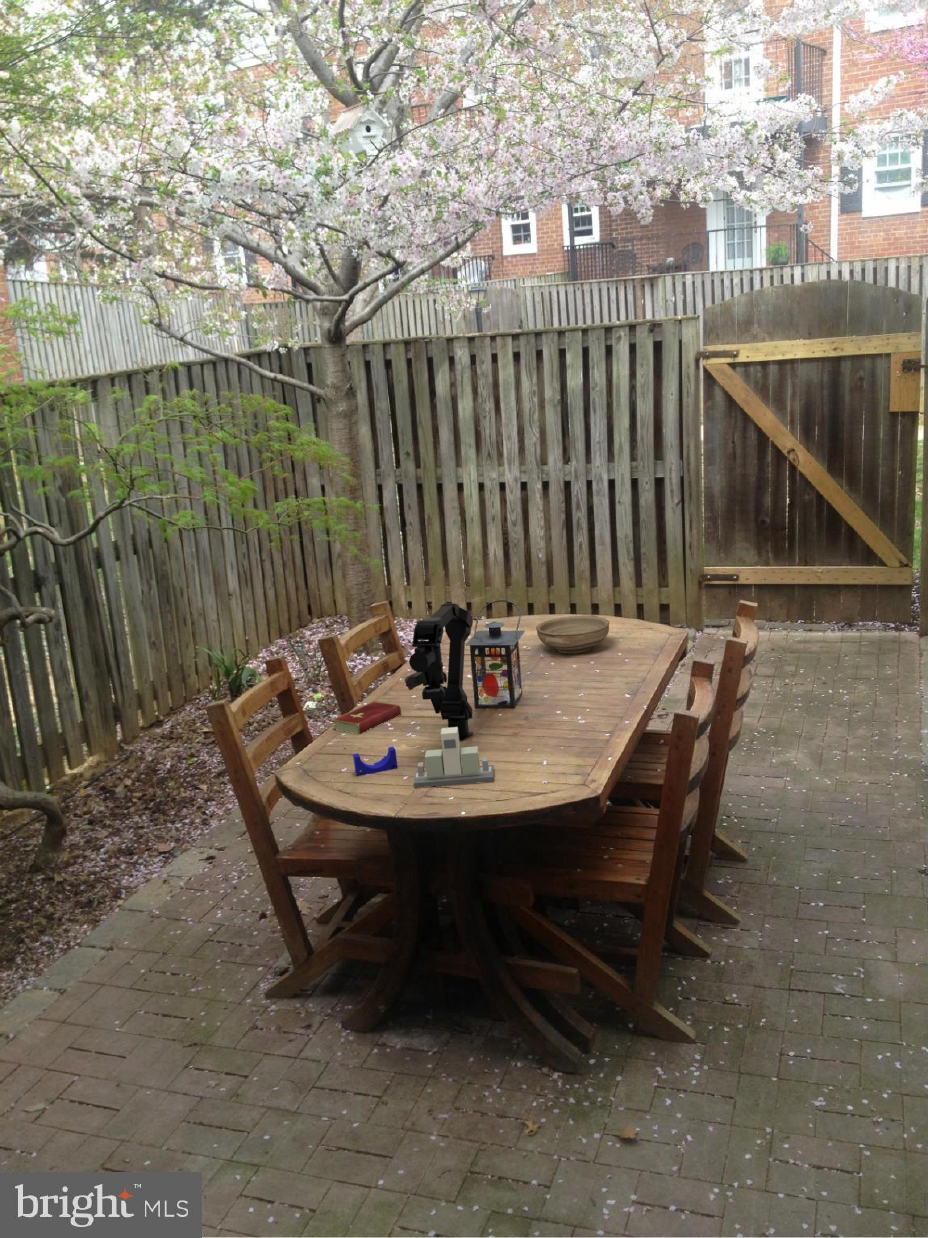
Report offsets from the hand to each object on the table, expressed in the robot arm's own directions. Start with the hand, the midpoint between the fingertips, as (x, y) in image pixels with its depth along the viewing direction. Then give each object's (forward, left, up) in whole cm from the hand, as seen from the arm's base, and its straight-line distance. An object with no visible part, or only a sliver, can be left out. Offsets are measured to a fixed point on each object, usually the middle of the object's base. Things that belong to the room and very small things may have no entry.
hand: (437, 713), depth 315 cm
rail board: (+15, +15, -13) cm, 24 cm away
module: (+15, +15, -11) cm, 24 cm away
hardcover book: (-17, -42, -14) cm, 47 cm away
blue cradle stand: (+17, -12, -14) cm, 25 cm away
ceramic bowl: (-115, -17, -13) cm, 117 cm away
